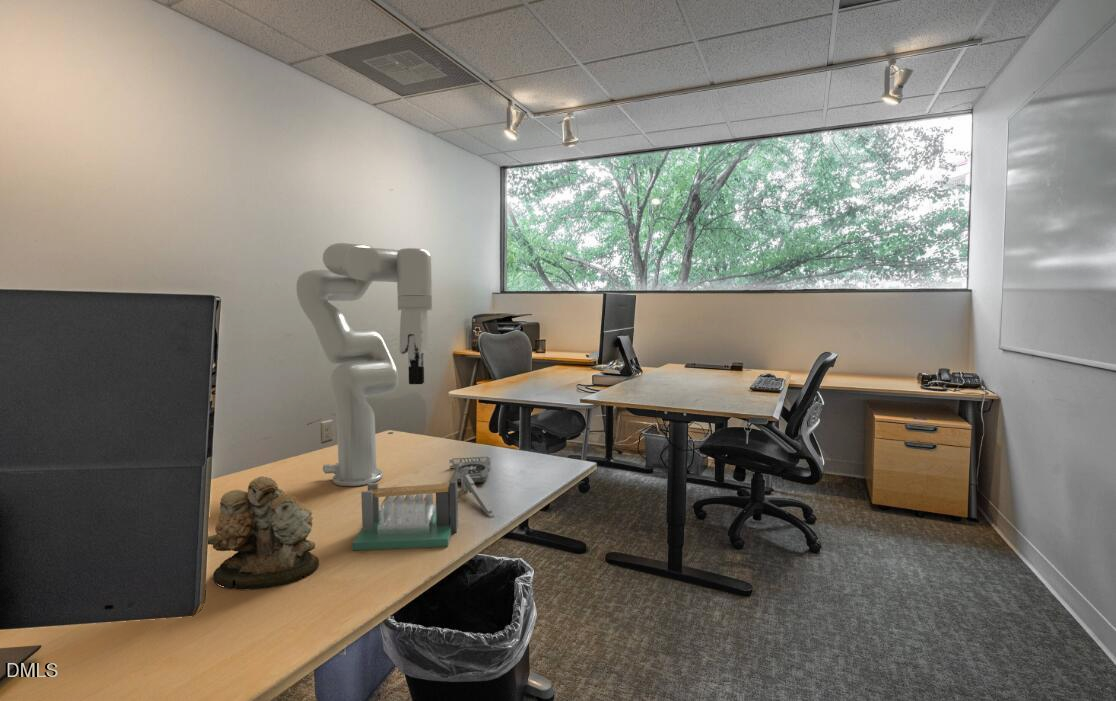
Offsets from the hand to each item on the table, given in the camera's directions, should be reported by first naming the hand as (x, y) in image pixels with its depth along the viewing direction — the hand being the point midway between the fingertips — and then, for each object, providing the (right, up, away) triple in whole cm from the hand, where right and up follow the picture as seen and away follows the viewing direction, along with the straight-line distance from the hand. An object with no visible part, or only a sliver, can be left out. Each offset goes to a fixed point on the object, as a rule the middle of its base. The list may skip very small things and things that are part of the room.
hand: (416, 383), depth 122 cm
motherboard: (+2, -30, -12) cm, 32 cm away
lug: (+9, -30, -11) cm, 33 cm away
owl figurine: (-19, -32, -29) cm, 47 cm away
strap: (+2, -22, -13) cm, 25 cm away
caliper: (+13, -29, +4) cm, 32 cm away
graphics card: (+8, -28, +23) cm, 37 cm away
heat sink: (+2, -28, -12) cm, 31 cm away
